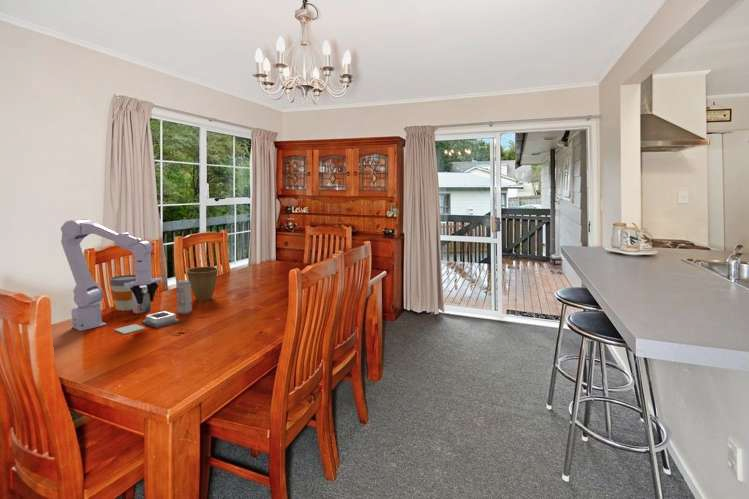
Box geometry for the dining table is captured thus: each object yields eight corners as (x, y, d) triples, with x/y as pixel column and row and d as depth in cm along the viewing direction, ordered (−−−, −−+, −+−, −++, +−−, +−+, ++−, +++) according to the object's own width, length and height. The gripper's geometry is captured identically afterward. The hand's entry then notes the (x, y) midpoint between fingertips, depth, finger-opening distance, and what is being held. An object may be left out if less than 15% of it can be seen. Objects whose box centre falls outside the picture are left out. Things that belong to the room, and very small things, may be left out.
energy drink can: (194, 311, 182) (193, 280, 180) (182, 315, 176) (181, 283, 174) (187, 309, 185) (185, 279, 183) (175, 312, 179) (173, 281, 177)
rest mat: (124, 334, 151) (124, 333, 151) (114, 330, 155) (114, 329, 155) (145, 328, 158) (145, 327, 158) (135, 324, 162) (135, 323, 162)
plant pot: (188, 296, 207) (187, 267, 205) (218, 294, 214) (217, 266, 211) (187, 303, 194) (186, 272, 192) (219, 301, 200) (218, 271, 198)
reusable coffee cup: (118, 313, 177) (115, 281, 175) (107, 308, 184) (105, 277, 182) (147, 307, 187) (145, 277, 185) (136, 302, 194) (134, 273, 192)
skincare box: (136, 313, 177) (134, 288, 175) (132, 312, 179) (131, 287, 178) (150, 310, 182) (149, 286, 180) (146, 309, 184) (145, 284, 182)
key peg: (143, 312, 158) (142, 293, 157) (137, 310, 160) (136, 292, 159) (153, 309, 162) (152, 291, 161) (147, 308, 164) (146, 290, 163)
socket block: (156, 328, 159) (156, 320, 158) (141, 322, 165) (141, 315, 165) (179, 321, 167) (179, 314, 167) (164, 316, 174) (164, 309, 173)
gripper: (129, 274, 150) (131, 307, 152) (166, 268, 163) (167, 300, 164) (120, 271, 154) (122, 304, 156) (157, 266, 166) (158, 297, 168)
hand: (145, 302), depth 160 cm, fingers closed on key peg, 4 cm apart
